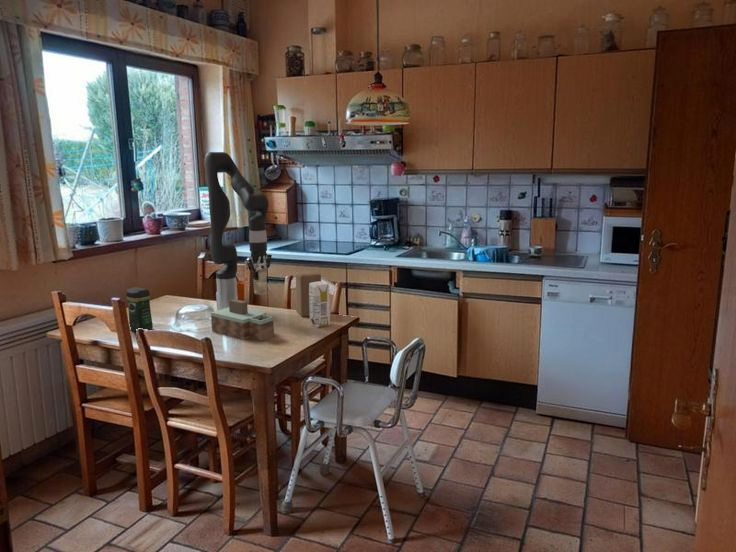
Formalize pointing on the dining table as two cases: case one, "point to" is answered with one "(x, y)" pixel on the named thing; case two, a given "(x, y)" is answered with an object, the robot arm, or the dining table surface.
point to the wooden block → (304, 290)
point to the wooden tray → (243, 329)
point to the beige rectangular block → (260, 282)
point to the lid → (241, 313)
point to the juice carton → (319, 304)
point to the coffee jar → (139, 308)
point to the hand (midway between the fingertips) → (259, 278)
